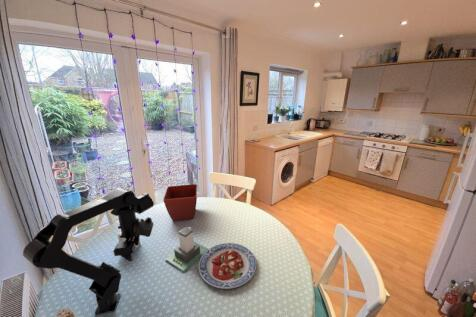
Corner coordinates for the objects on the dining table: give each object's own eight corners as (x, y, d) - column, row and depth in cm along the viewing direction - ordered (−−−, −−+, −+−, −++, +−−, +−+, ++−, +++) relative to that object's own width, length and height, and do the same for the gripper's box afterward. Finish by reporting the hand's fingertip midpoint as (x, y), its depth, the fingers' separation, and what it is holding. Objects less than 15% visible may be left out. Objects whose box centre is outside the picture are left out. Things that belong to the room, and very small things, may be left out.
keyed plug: (187, 258, 96) (185, 235, 92) (180, 254, 98) (178, 231, 94) (195, 251, 100) (193, 229, 96) (189, 248, 102) (187, 225, 98)
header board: (183, 272, 89) (182, 264, 88) (165, 260, 96) (164, 252, 94) (208, 250, 102) (207, 242, 101) (191, 241, 108) (190, 234, 107)
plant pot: (170, 208, 140) (167, 186, 135) (198, 205, 143) (197, 183, 138) (166, 225, 122) (162, 199, 117) (198, 221, 125) (196, 196, 120)
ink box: (129, 256, 99) (125, 235, 95) (121, 254, 100) (116, 234, 96) (141, 244, 107) (137, 224, 103) (133, 242, 108) (129, 223, 104)
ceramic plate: (194, 254, 100) (194, 249, 99) (243, 241, 109) (243, 236, 108) (205, 301, 77) (205, 295, 76) (266, 280, 86) (266, 275, 85)
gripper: (144, 232, 71) (150, 268, 76) (154, 205, 88) (159, 235, 93) (109, 236, 69) (117, 273, 74) (126, 207, 86) (132, 238, 91)
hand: (134, 252), depth 83 cm, fingers open, 9 cm apart
